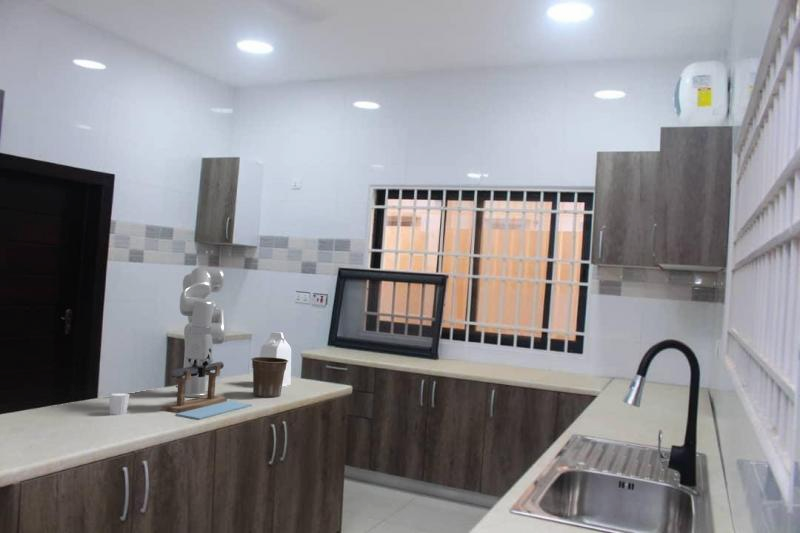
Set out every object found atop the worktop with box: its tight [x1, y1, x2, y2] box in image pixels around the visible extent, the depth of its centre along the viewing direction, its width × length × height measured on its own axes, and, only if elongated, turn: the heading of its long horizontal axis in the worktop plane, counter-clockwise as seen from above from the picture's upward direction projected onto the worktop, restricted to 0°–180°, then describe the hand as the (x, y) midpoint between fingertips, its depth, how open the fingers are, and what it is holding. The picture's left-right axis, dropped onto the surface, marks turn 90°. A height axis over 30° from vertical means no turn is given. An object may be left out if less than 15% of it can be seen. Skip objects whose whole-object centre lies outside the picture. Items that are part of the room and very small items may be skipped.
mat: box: [175, 400, 253, 420], centre depth 248 cm, size 11×32×1 cm, turn 158°
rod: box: [170, 361, 224, 378], centre depth 254 cm, size 28×3×3 cm, turn 158°
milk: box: [259, 331, 292, 387], centre depth 311 cm, size 12×12×26 cm
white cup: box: [108, 392, 130, 416], centre depth 233 cm, size 7×7×7 cm
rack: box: [161, 366, 228, 413], centre depth 254 cm, size 9×28×15 cm, turn 158°
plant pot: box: [251, 356, 288, 398], centre depth 285 cm, size 16×16×16 cm
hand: (197, 375), depth 254 cm, fingers closed on rod, 3 cm apart
